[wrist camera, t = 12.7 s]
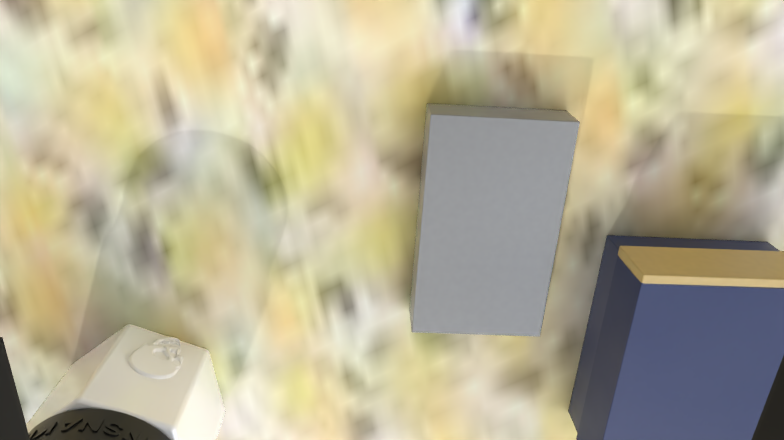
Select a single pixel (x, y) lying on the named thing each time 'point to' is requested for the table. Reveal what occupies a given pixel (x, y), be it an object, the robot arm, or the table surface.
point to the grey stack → (489, 217)
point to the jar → (134, 393)
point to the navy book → (686, 345)
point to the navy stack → (603, 292)
